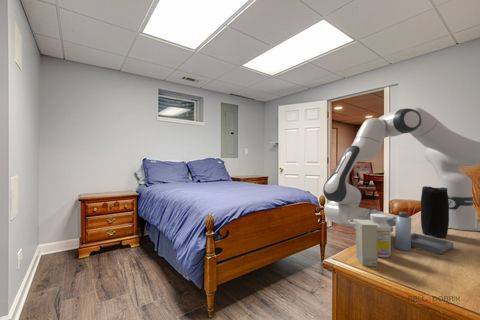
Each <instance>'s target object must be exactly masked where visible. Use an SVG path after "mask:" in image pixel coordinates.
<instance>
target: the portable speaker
mask: <svg viewBox="0 0 480 320" xmlns="http://www.w3.org/2000/svg"><path fill="white" fill-rule="evenodd" d="M420 224H421V225H420V227H421V231H422V235H427V234H428V235H431V236H432V235H433V236H434V238H437V239H441V238H443V239H444V238H446V237H448V236H447V235H448V232H449V228H448V226H449V200H448V193H447V188H442V187H441V188H439V187H432V186H422V189H421V197H420Z"/></svg>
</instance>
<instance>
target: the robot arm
mask: <svg viewBox="0 0 480 320" xmlns="http://www.w3.org/2000/svg"><path fill="white" fill-rule="evenodd" d="M404 134H410V135H411V136H412V137H413V138H414V139H415V140H417V141H418V142H419V143H420V144H421V145H423V146H424V147H425V148H426V149H425V152H424V156H425V157H424V158H425V159H426V161H427V162H428V163H430V165H431V166H432V167H433V169H434V170H435V173H436V174H437V175H436V176H437V179H438V188H441V187H442V188H447V193H448V200H449V226H448V229H454V230H461V231H473V232H474V231H475V232H480V219H479V218H478V211H477V210H476V207H474V204H475V203H474V201H475V200H474V196H473V195H472V194H473V192H472V191H473V188H472V187H473V181H472V179H471V178H470V177H469V176H468V175H466V174H465V173H464V172H463V170H462V168H461V167H475V166H480V141H478V140H475V139H471V138H468V137H465V136H463V135H461V134H459V133H457V132H455V131H453V130H452V129H449V128H448V127H447V126H446V125H444V124H443V123H442V122H441V121H440V120H439V119H437V118H436V117H435V116H434V115H432V114H431V113H429V112H428V111H426V110H425V109H422V108H421V107H417V106H415V107H410V108H409V107H408V108H401V109H398V110H393V111H390V112H387V113H385V114H382V115H379V116H378V117H376V118H375V117H372V118H367V119H366V120H364V122H363V123H362V124H361V126H360V128H359V129H358V131H357V133H356V136H355V138H354V140H353V142H352V144H351V145H350V146H348V147H347V148H346V149H345V151H344V152H343V154H342V155H341V157H340V158H339V160H338V162H337V163H336V166H335V168H334V170H333V172H332V173H331V175H330V176H329V178H328V179H326V181H325V182H324V184H323V189H322V192H323V195H324V197H325V199H326V200H328V201H329V202H327V203H326V204H325V205H324V208H323V213H324V215H325V216H324V217H326V219H327V220H329V221H330V222H333V223H336V224H338V225H341V226H348V227H350V228H352V229H355V230H356V220H370V221H371V218H370V214H383V215H386V216H387V221H386V223H388V224H389V225H390V227H391V233H392V232H394V226H395V227H396V215H394V214H392V213H387V212H384V211H377V209H376V208H364V207H360V204H361V201H362V193H361V191H360V189H359V188H357V187H356V186H354V185H352V184H349V183H348V181H347V180H348V178H349V176H350V174H351V172H352V170H353V168H354V166H355V165H356V164H357V163H359V162H366V161H367V162H368V161H371V160H373V159H375V158H376V157H377V156H378V154H379V153H380V150H381V149H382V145H383V143H384V140H385V138H391V137H397V136H401V135H404Z"/></svg>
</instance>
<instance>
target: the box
mask: <svg viewBox="0 0 480 320" xmlns="http://www.w3.org/2000/svg"><path fill="white" fill-rule="evenodd" d="M411 246H412V248H414V249H415V248H416V249H419V250H422V251H425V252H429V253H432V254H436V255H439V256H441V255H442V256H443V255H444V254H446V253H447V252H449V251H451V250H452V249H454V242H453V241H450V240H447V239H446V240H445V239H441V238H437V237H432V236H429V235H426V234H420V233H415V232H411Z"/></svg>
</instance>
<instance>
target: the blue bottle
mask: <svg viewBox="0 0 480 320" xmlns="http://www.w3.org/2000/svg"><path fill="white" fill-rule="evenodd" d="M395 216H396V226H395V234H394V235H395V238H394V239H395V240H394V242H395V244H394V248H396V249H398V250H401V251H404V252H405V251H407V252H410V251H411V250H412V248H411V233H412V217H411V216H409V212H406V211H399V212H398V215H395Z"/></svg>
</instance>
